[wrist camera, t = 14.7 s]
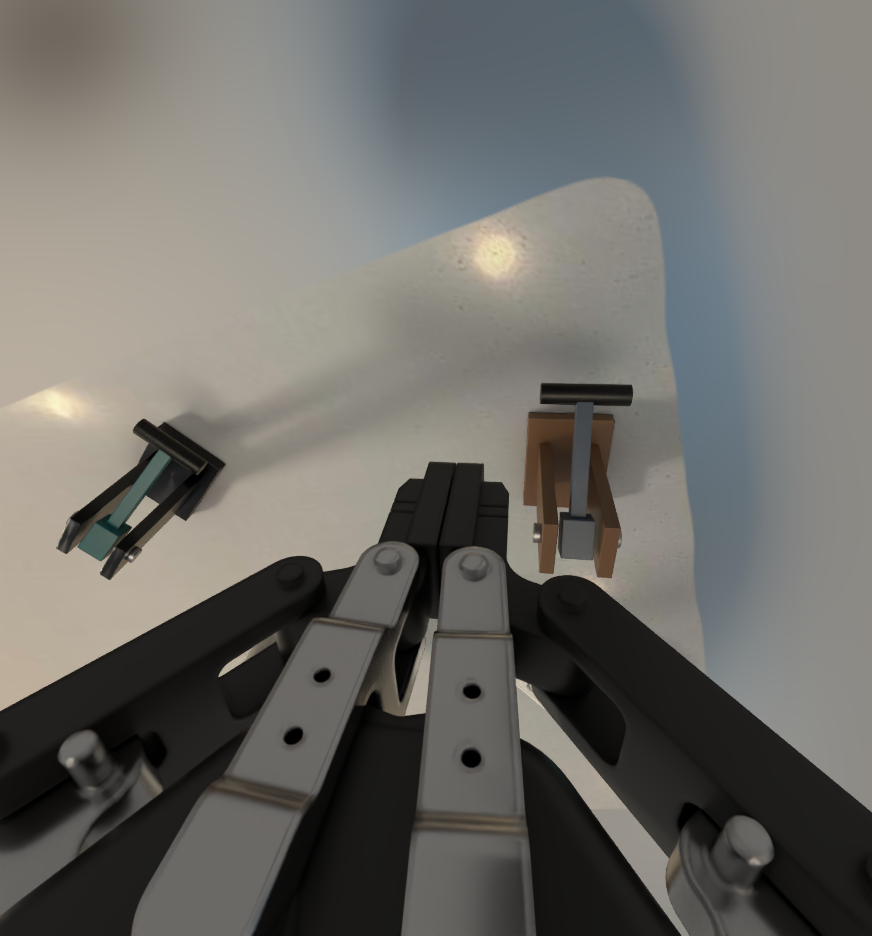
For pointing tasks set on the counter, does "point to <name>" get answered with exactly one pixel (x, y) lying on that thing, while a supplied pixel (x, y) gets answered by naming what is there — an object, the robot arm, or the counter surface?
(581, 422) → the near lever
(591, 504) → the near bracket
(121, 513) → the far lever
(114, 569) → the far bracket
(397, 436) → the counter surface
